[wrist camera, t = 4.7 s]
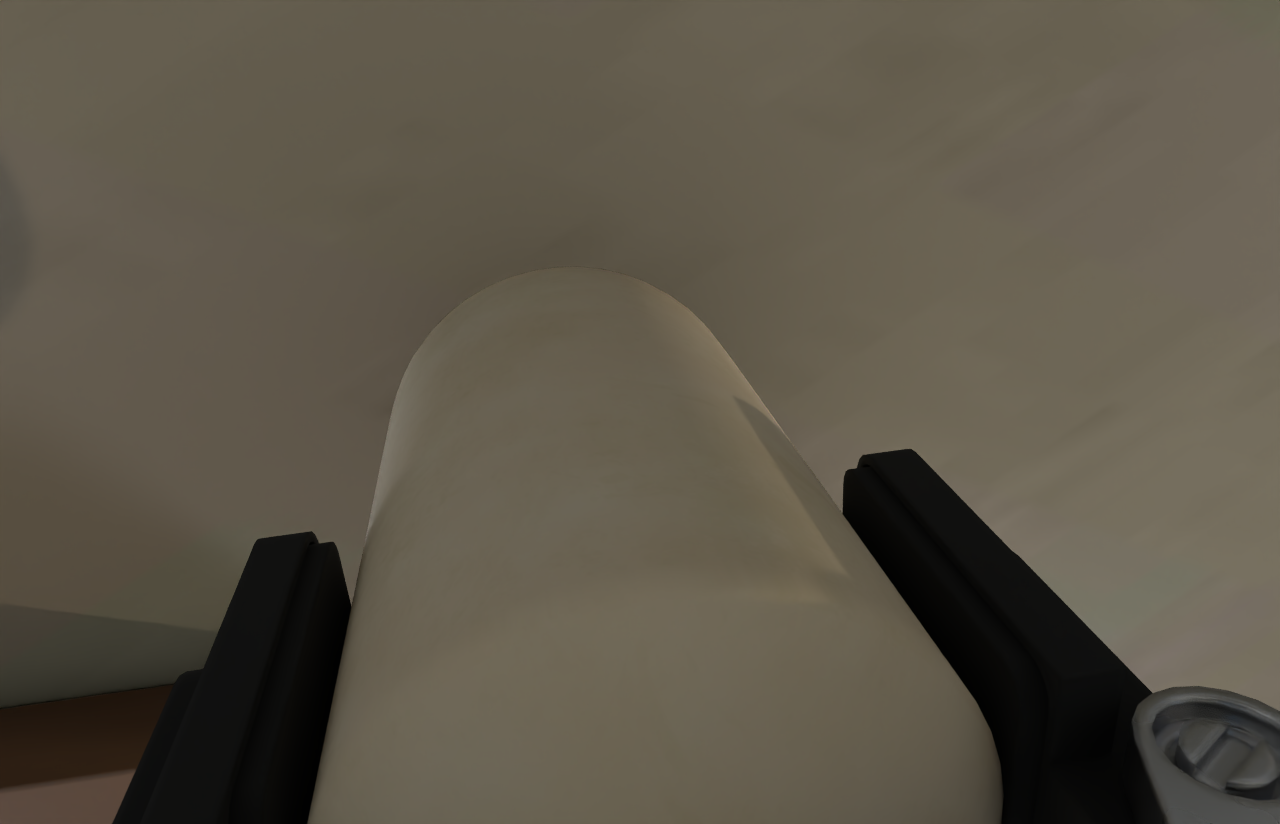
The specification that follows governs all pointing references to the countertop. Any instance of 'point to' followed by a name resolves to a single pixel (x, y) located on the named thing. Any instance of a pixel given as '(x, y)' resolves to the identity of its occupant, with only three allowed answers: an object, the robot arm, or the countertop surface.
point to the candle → (625, 597)
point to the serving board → (74, 755)
